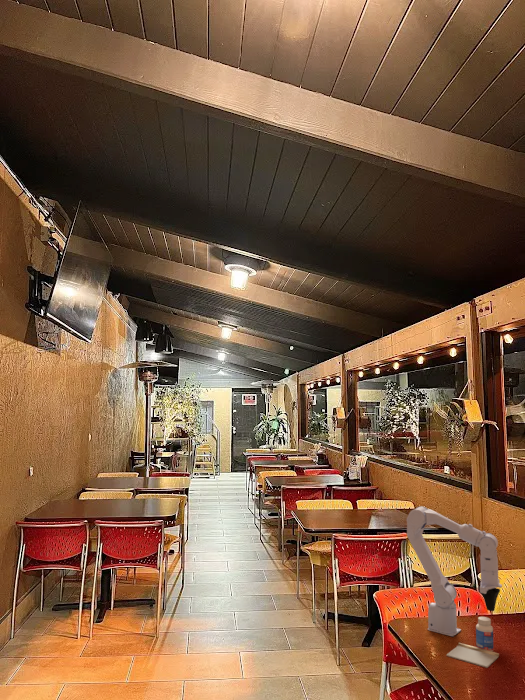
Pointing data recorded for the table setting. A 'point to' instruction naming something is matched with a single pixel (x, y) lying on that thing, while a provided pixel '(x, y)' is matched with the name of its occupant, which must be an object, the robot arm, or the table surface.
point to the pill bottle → (484, 634)
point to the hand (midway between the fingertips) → (490, 610)
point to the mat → (472, 656)
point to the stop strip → (479, 649)
